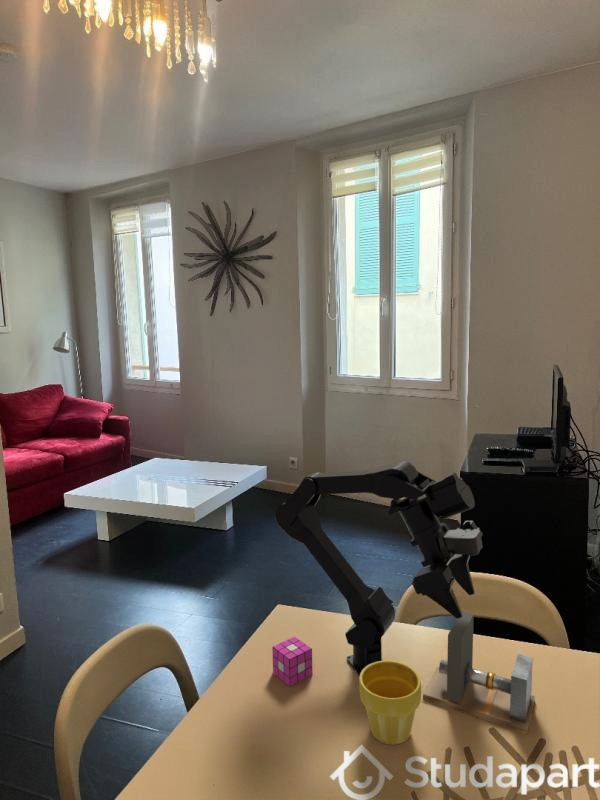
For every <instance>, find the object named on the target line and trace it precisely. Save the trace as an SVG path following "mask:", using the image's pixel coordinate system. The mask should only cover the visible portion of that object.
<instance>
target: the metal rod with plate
mask: <svg viewBox="0 0 600 800" xmlns="http://www.w3.org/2000/svg"><path fill="white" fill-rule="evenodd" d="M533 661H534V658H533V657H531V656H528V655H523V654H521V653H520V654H519V653H518V654H517V656H516V659H515V662H514V665H513V669H512V673H511V675H510V678H507V677H503V676H500V675H497V674H496V673H494V672H491V671H487V672H486V671H483V670H479V669H476V668H473V667H472V668H470V667H466V668H465V672H464V681H468V682H471V683H474V684H478V685H481V686H484V687H486V688H487V689H490V690H497V691H501V692H504V693H507V694H511V695H510V719H513V720H517V721H520V722H523V723H525V722H526V718H527V713H528V709H529V705H530V701H531V695H532V687H533V686H532V683H533ZM438 667H439V673H441V674H445V675H447V659H446V660H445V659H440V661H439V666H438Z"/></svg>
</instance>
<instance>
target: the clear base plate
mask: <svg viewBox="0 0 600 800" xmlns="http://www.w3.org/2000/svg"><path fill="white" fill-rule="evenodd" d="M510 695H511V694H507V693H504V692H501V691H497V690H490V689H487V688H486V687H484V686H481V685H478V684H474V683H471V682H469V684H468V686H467V688H466V691H465V693H464V696H463V698H462V700H461V703H457V702H454V701H451V700H448V699H447V675H445V674H441V673H439V666H437V667H436V668H435V670H434V672H433V674H432V675H431V678H430V680H429V681H428V683H427V685H426V687H425V689H424V691H423V693H422V699H423V700H426V701H429V702H431V703H434V704H437V705H441V706H442V707H443V706H444V707H446V708H449V709H453V710H455V711H458V712H462V713H464V714H466V715H469V716H470V715H471V716H474V717H477V718H479V719H483V720H485V721H489V722H492V723H495V724H498V725H500V726H504V727H507V728H510V729H513V730H516V731H518V732H521V733H524V734H528V732H529V727H530V723H531V718H532V714H533V709H534V705H535V700H536V695H532V694H531V701H530V705H529V709H528V713H527V718H526V722H525V723H523V722H520V721H517V720H513V719H510Z"/></svg>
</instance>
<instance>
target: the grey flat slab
mask: <svg viewBox="0 0 600 800" xmlns="http://www.w3.org/2000/svg"><path fill="white" fill-rule="evenodd" d="M461 613H462V617H461V618H456V620H455V621H454V623H453V625H452V627H451V629H450V630H449V632H448V634H447V659H446V661H447V699H448V700H451V701H454V702H457V703H461V700H462V698H463V696H464V693H465V691H466V688H467V686H468V684H469V682H468V681H464V672H465V668H466V667H470V668H473V658H474V657H473V656H474V655H473V654H474V653H473V652H474V651H473V650H474V649H473V648H474V617H475V614H474V613H469V612H464V611H462V610H461Z"/></svg>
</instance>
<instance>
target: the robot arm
mask: <svg viewBox="0 0 600 800" xmlns="http://www.w3.org/2000/svg"><path fill="white" fill-rule="evenodd" d="M366 493H367V494H371V495H374V496H377V497H380V498H383V499H384V498H386V499H391V501H390V506H389V508H388V512H387V515H388V516H393V515H395V514H397V513H399V514H400V516H401V517H402V519H403V522H404V524H405V526H406V527H407V529H408V531H409V534H410V535H411V536H412V539H411V540H410V541H409V542H410V544H411V546H412V547H415V546H416V547H417V548H418V550H419V553H421V556H422V558H423V559H422V560H421V561H420V563H421V565H422V567H423V568H422V569H419V570H418V571H417V573H416V574H415V575H414V576H413V579H412V582H411V585H412V587H413V589H414V591H415V593H416V594H417V595H421V596H426V597H427V598H428V599H431V600H432V601H433V602H435V604H437V605H439V606H440V607H442V608H443V609H444V610H445V611H446V612H448V613H449V614H450V615H452V617H454V618H456V619H457V618H461V617H462V613H461V611H462V609H461V607H460V605H459V602H458V600H457V597H456V594H455V593H454V590H453V585H454V582H455V581H456V582H457V584H458V585H459V586H460V587H461V588H462V589H463V591H465V593H466V594H467V595H469V596H472V595H474V594H475V588H474V584H473V580H472V575H471V570H470V566H469V560H470V558H471V556H472V557H473V556H475V557H476V556H478V555H479V554H480V551H481V550H482V549H483V548H484V547H483V541H482V537H483V534H484V533H483V531H481V528H480V527H478V526H477V525H476V523H475V521H474V520H465V521H464V522H463V524H462V526H461V528H460V527H457V528H456V529H450V527H449V526H448V524H447V523H446V522H442V523H441V522H440V520H439V518H441V519H442V520H445V519H448V518H451V517H454V516H456V515H458V514H462V513H464V512H466V511H467V512H468V510H471V509H474V508H475V506H476V505H475V503H476V502H475V498H474V495H473V492H472V490H471V488H470V486H469V485H468V484H466V482H465V481H464V480H463V479H461V478H459V476H458V474H457V473H456V472H452V473H450V474H448V475H447V476H445V477H444V478H442V479H439V480H437V481H436V480H435V479H433V478H431V477H429V476H427V475H425V474H423V473H422V472H420V471H418V470H417V469H416V467H415V466H414V465H413V464H412V463H410V462H408V461H398V462H394V463H391V464H387V465H382V466H380V467H377V468H375V469H371V470H370V469H369V470H368V469H367V470H352V471H351V470H349V471H337V472H318V471H316V472H313V473H311V474H309V475H308V476H305V477H304V478H303V479H302V481H301V482H300V483H299V486H298V487H297V488H296V490H294V491H293V493H292V494H291V495H290V496H289V497H288V498H287V500H286V501H284V503H282V504H280V505H278V507H277V508H276V509H275V510H276V511H275V522H276V524H277V525H278V527H279V528H280V529H281V530H282V531H283V532H284V533H285V534H286V535H287V536H288V537H289V538H291V539H294V540H295V541H296V542H299V543H302V544H303V546H305V548H306V549H307V551H308V552H309V553H310V554H311V556H312V557H313V558H314V560H315V561H316V562H317V564H318V565H319V566H320V567H321V569H322V570H323V572H324V573H325V574H326V576H327V577H328V578H329V580H331V582H332V583H333V585H334V586H335V587H336V589H337V590H338V591H339V592H340V594H341V595H342V597H343V598H344V599H345V600H346V602H347V605H348V609H349V613H350V614H349V615H350V618H351V620H352V622H353V624H352V626H351V627H350V628H349V629H348V630H346V632H345V638H346V642H347V644H348V645H350V646H352V654H351V655H348V656H346V660H347V662H348V663H349V665H350V666H351V667H352V668H353V670H354V671H355V673H356V674H357V675H358V676H359V677H360V673H361V671H362V670H363V669H364V668H365V667H366V666H368V665H369V664H371V663H374V662H378V661H384V659H383V657H382V652H383V651H382V649H383V648H382V644H383V643H382V637H383V636H384V635H385V634H386V632H387V631H388V630H389V629H390V627H391V625H392V624H393V623H394V622H395V619H396V609H395V607H394V605H393V604H394V601H393V600H392V599H390V598H389V596H387V594H386V593H385V591H384V589H383V588H382V587H381V586H378V587H377V588H376V589H374V588H372V587H370V586H369V585H367V584H366V583H365V582H364V581H363V580H362V578H361V577H360V576H359V575H358V573H357V572H356V571H355V569H354V568H353V567H352V566H351V564H350V563H349V562H348V561H347V559H346V558H345V557H344V555H342V553H341V552H340V550H339V549H338V548H337V546H336V544H334V543H333V541H332V540H331V539H330V537H329V536H328V534H326V532H325V531H324V530H323V528H322V524H321V520H320V516H319V513H318V511H317V510H316V508H315V506H316V505H317V503H318V501H319V500H320V499H321V496H322V495H340V494H366Z"/></svg>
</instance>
